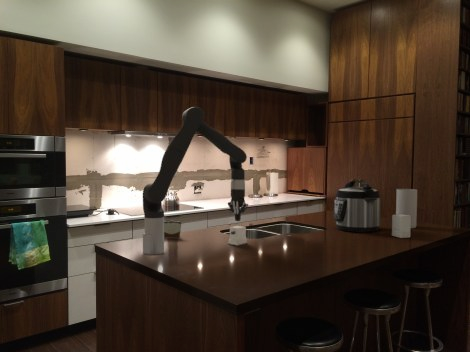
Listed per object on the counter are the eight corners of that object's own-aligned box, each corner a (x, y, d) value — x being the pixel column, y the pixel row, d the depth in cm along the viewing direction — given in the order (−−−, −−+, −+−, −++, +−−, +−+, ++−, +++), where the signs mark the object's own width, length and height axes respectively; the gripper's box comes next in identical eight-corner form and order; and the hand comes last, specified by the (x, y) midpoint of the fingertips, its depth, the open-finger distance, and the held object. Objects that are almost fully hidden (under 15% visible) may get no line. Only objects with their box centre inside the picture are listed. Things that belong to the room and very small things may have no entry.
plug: (236, 245, 201) (236, 229, 201) (227, 243, 205) (227, 227, 204) (245, 242, 207) (245, 227, 206) (237, 241, 211) (237, 225, 210)
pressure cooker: (336, 224, 269) (336, 178, 268) (379, 226, 260) (380, 179, 258) (331, 231, 241) (332, 180, 240) (380, 235, 232) (381, 182, 230)
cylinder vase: (391, 225, 264) (392, 189, 263) (406, 224, 268) (407, 188, 266) (404, 229, 252) (405, 190, 251) (420, 228, 256) (421, 190, 255)
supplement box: (410, 237, 226) (411, 215, 225) (400, 238, 223) (401, 216, 223) (401, 234, 233) (401, 213, 232) (391, 235, 230) (391, 214, 230)
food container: (184, 236, 226) (184, 219, 226) (182, 238, 220) (182, 220, 220) (163, 235, 228) (163, 218, 227) (160, 237, 221) (160, 220, 221)
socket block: (237, 246, 202) (237, 240, 201) (228, 244, 205) (228, 238, 205) (246, 243, 208) (246, 237, 207) (238, 241, 211) (238, 236, 211)
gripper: (223, 187, 207) (223, 220, 207) (243, 189, 198) (242, 223, 199) (233, 187, 212) (232, 218, 213) (252, 188, 204) (251, 221, 204)
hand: (237, 220), depth 206 cm, fingers closed
